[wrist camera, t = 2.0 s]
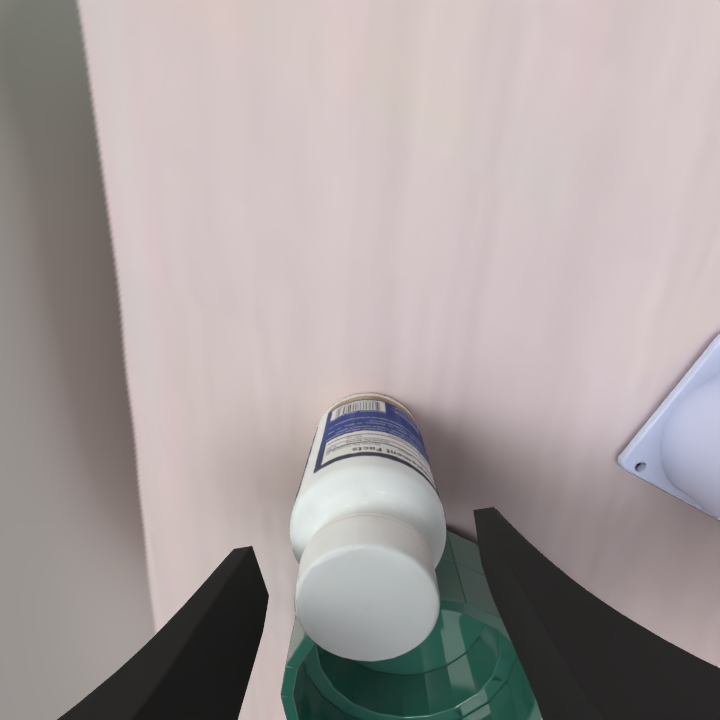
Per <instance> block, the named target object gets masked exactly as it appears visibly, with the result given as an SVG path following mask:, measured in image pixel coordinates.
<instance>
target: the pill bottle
mask: <svg viewBox="0 0 720 720" xmlns="http://www.w3.org/2000/svg"><path fill="white" fill-rule="evenodd" d="M290 539H291V545H292V549H293V552H294V555H295V557H296V559H297V561H298V563H299V575H298V580H297V585H296V591H295V612H296V616H297V618H298V620H299V623H300V625H301V627H302V628H303V630H304V631H305V633H306V634H307V635H308V636H309V637H310V638H311V639H312V640H313V641H314V642H315V643H317V644H318V645H319V646H320V647H322V648H323V649H325V650H327V651H328V652H330V653H333V654H335V655H338V656H340V657H344V658H349V659H352V660H359V661H379V660H386V659H391V658H395V657H397V656H400V655H402V654H404V653H407V652H408V651H410V650H412V649H413V648H415V647H417V646H418V645H419V644H420V643H422V642H423V641H424V640H425V639H426V638H427V636H428V635H429V634H430V633H431V631H432V630H433V628H434V626H435V624H436V622H437V619H438V616H439V610H440V595H439V589H438V583H437V578H436V573H435V568H436V566H437V565H438V563H439V561H440V559H441V556H442V554H443V551H444V547H445V542H446V523H445V516H444V511H443V506H442V503H441V500H440V497H439V494H438V491H437V487H436V484H435V481H434V477H433V474H432V470H431V467H430V463H429V460H428V456H427V453H426V450H425V447H424V443H423V440H422V437H421V434H420V431H419V428H418V425H417V423H416V421H415V419H414V418H413V416H412V415H411V414H410V412H409V411H408V410H407V409H406V408H405V407H404V406H403V405H402V404H400V403H399V402H397V401H395V400H394V399H392V398H389V397H387V396H384V395H379V394H373V393H363V394H356V395H352V396H349V397H346V398H344V399H342V400H340V401H338V402H337V403H335V404H334V405H333V406H332V407H331V408H330V409H329V410H328V411H327V412H326V413H325V415H324V416H323V418H322V419H321V421H320V423H319V426H318V428H317V431H316V434H315V436H314V439H313V443H312V447H311V450H310V453H309V457H308V460H307V463H306V467H305V470H304V474H303V477H302V480H301V483H300V487H299V490H298V493H297V496H296V499H295V502H294V506H293V510H292V515H291V521H290Z"/></svg>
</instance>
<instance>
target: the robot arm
mask: <svg viewBox="0 0 720 720" xmlns="http://www.w3.org/2000/svg"><path fill="white" fill-rule="evenodd" d="M638 463H640V465H639V466H638V467H635V466H636V465H637V464H638ZM618 464H619V465H620V466H621V467H622V468H623V469H625V470H626V471H628V472H630V473H632V474H634V475H635V476H637V477H639V478H641V479H643V480H645V481H647V482H648V483H650V484H652V485H654V486H656V487H658V488H660V489H662V490H663V491H665V492H667V493H669V494H671V495H673V496H675V497H677V498H678V499H680V500H682V501H684V502H686V503H688V504H690V505H691V506H693V507H695V508H697V509H699V510H701V511H703V512H705V513H706V514H708V515H710V516H712V517H714V518H716V519H718V520H719V521H720V334H719V335H717V336H716V338H715V339H714V340H713V341H712V343H711V344H710V345H709V346H708V348H707V349H706V350H705V351H704V352H703V354H702V355H701V356H700V357H699V359H698V360H697V361H696V362H695V363H694V365H693V366H692V367H691V368H690V370H689V371H688V372H687V373H686V374H685V376H684V377H683V378H682V379H681V381H680V382H679V383H678V384H677V385H676V387H675V388H674V389H673V390H672V392H671V393H670V394H669V395H668V397H667V398H666V399H665V400H664V401H663V403H662V404H661V405H660V406H659V408H658V409H657V410H656V411H655V412H654V414H653V415H652V416H651V417H650V419H649V420H648V421H647V422H646V423H645V425H644V426H643V427H642V428H641V430H640V431H639V432H638V433H637V435H636V436H635V437H634V438H633V439H632V441H631V442H630V443H629V444H628V446H627V447H626V448H625V449H624V450H623V452H622V453H621V454H620V456H619V457H618ZM473 511H474V517H475V524H476V531H477V537H478V544H479V551H480V558H481V564H482V567H483V570H484V573H485V576H486V580H487V583H488V586H489V589H490V592H491V595H492V598H493V600H494V603H495V605H496V607H497V610H498V612H499V614H500V617H501V619H502V621H503V624H504V626H505V628H506V630H507V633H508V635H509V637H510V640H511V642H512V644H513V647H514V649H515V651H516V653H517V656H518V658H519V660H520V663H521V665H522V667H523V669H524V672H525V674H526V676H527V679H528V681H529V684H530V686H531V689H532V691H533V694H534V696H535V699H536V702H537V704H538V707H539V710H540V713H541V716H542V719H543V720H720V668H718V667H716V666H714V665H712V664H710V663H708V662H706V661H704V660H702V659H700V658H698V657H696V656H694V655H692V654H690V653H688V652H687V651H685V650H683V649H681V648H679V647H677V646H675V645H673V644H672V643H670V642H668V641H666V640H664V639H662V638H661V637H659V636H657V635H656V634H654V633H652V632H651V631H649V630H647V629H646V628H644V627H642V626H641V625H639V624H637V623H636V622H634V621H632V620H631V619H629V618H627V617H626V616H624V615H622V614H621V613H619V612H618V611H616V610H615V609H613V608H612V607H610V606H609V605H607V604H606V603H604V602H603V601H601V600H600V599H599V598H597V597H596V596H594V595H593V594H592V593H590V592H589V591H587V590H586V589H585V588H583V587H582V586H581V585H579V584H578V583H577V582H575V581H574V580H573V579H571V578H570V577H569V576H568V575H566V574H565V573H564V572H563V571H562V570H560V569H559V568H558V567H557V566H555V565H554V564H553V563H552V562H551V561H549V560H548V559H547V558H546V557H545V556H544V555H543V554H541V553H540V552H539V551H538V550H537V549H536V548H535V547H534V546H533V545H532V544H530V543H529V542H528V541H527V540H526V539H525V538H524V537H523V536H522V535H521V534H520V533H519V532H518V531H517V530H516V529H515V528H514V527H513V526H512V525H511V524H510V523H509V522H508V521H507V520H506V519H505V518H504V517H503V516H502V515H501V514H500V512H499V511H498V510H497V509H495V508H494V507H490V508H484V509H478V510H473ZM268 598H269V595H268V592H267V589H266V586H265V583H264V580H263V577H262V574H261V571H260V568H259V565H258V562H257V559H256V556H255V553H254V550H253V547H252V546H249V547H243V548H237V549H234V550H233V551H232V552H231V553H230V554H229V555H228V556H227V557H226V558H225V559H224V561H223V562H222V563H221V564H220V565H219V566H218V567H217V569H216V570H215V571H214V572H213V573H212V574H211V575H210V577H209V578H208V579H207V580H206V581H205V582H204V583H203V585H202V586H201V587H200V588H199V589H198V590H197V591H196V592H195V593H194V595H193V596H192V597H191V598H190V599H189V600H188V601H187V602H186V604H185V605H184V606H183V607H182V608H181V609H180V610H179V611H178V612H177V613H176V614H175V615H174V616H173V617H172V618H171V619H170V620H169V621H168V623H167V624H166V625H165V626H164V627H163V628H162V629H161V630H160V631H159V632H158V633H157V634H156V635H155V636H154V637H153V638H152V639H151V640H150V641H149V642H148V643H147V644H146V645H145V646H144V647H143V648H142V649H141V650H140V651H138V652H137V653H136V654H135V655H134V656H133V657H132V658H131V659H130V660H129V661H128V662H126V663H125V664H124V665H123V666H122V667H121V668H120V669H119V670H118V671H116V673H114V674H113V675H112V676H111V677H109V678H108V679H107V680H106V681H105V682H104V683H102V684H101V685H100V686H99V687H97V688H96V689H95V690H94V691H93V692H91V693H90V694H89V695H88V696H87V697H85V698H84V699H83V700H82V701H81V702H79V703H78V704H77V705H76V706H74V707H73V708H72V709H71V710H69V711H68V712H67V713H65V714H64V715H63V716H61V717H60V718H59V719H57V720H238V716H239V713H240V710H241V706H242V703H243V699H244V696H245V692H246V689H247V685H248V682H249V679H250V675H251V672H252V668H253V665H254V661H255V658H256V654H257V651H258V647H259V644H260V640H261V636H262V633H263V628H264V622H265V617H266V611H267V604H268Z"/></svg>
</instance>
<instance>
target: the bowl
mask: <svg viewBox="0 0 720 720" xmlns="http://www.w3.org/2000/svg"><path fill="white" fill-rule="evenodd" d="M435 573H436V578H437V583H438V589H439V595H440V610H439V616H438V619H437V622H436V624H435V626H434V628H433V630H432V631H431V633H430V634H429V635H428V636H427V638H426V639H425V640H424V641H423V642H422V643H420V644H419V645H418V646H417V647H415V648H413V649H412V650H410V651H408V652H407V653H404V654H402V655H400V656H397V657H395V658H391V659H386V660H379V661H359V660H352V659H349V658H344V657H340V656H338V655H335V654H333V653H330V652H328V651H327V650H325V649H323V648H322V647H320V646H319V645H318V644H317V643H315V642H314V641H313V640H312V639H311V638H310V637H309V636H308V635H307V634H306V633H305V631H304V630H303V628H302V627H301V625H300V623H299V620H298V618H297V616H295V621H294V626H293V631H292V636H291V641H290V646H289V651H288V655H287V660H286V665H285V671H284V677H283V683H282V688H281V699H282V703H283V707H284V711H285V715H286V718H287V720H541V718H542V716H541V713H540V710H539V707H538V704H537V702H536V699H535V696H534V694H533V691H532V689H531V686H530V684H529V681H528V679H527V676H526V674H525V672H524V669H523V667H522V665H521V663H520V660H519V658H518V656H517V653H516V651H515V649H514V647H513V644H512V642H511V640H510V637H509V635H508V633H507V630H506V628H505V626H504V624H503V621H502V619H501V617H500V614H499V612H498V610H497V607H496V605H495V603H494V600H493V598H492V595H491V592H490V589H489V586H488V583H487V580H486V576H485V573H484V570H483V567H482V564H481V558H480V551H479V546H478V545H476V544H475V543H473V542H471V541H469V540H467V539H465V538H462V537H460V536H458V535H456V534H454V533H452V532H450V531H448V530H446V542H445V547H444V551H443V554H442V556H441V559H440V561H439V563H438V565H437V566H436V568H435Z"/></svg>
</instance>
